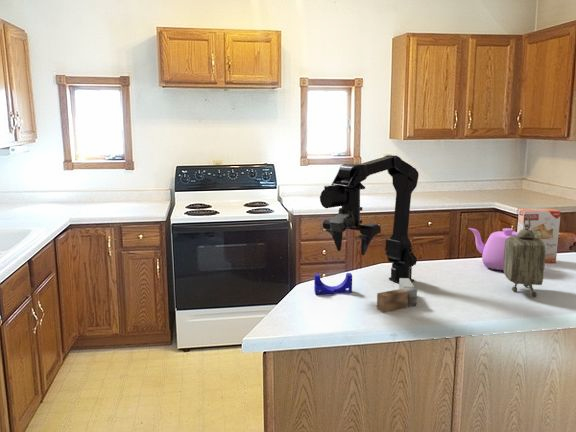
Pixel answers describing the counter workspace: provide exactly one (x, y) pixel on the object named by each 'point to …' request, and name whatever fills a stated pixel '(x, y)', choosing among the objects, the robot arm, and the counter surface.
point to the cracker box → (543, 228)
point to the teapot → (493, 247)
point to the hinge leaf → (408, 287)
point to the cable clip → (330, 290)
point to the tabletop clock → (524, 259)
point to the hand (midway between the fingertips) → (350, 252)
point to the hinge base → (394, 300)
